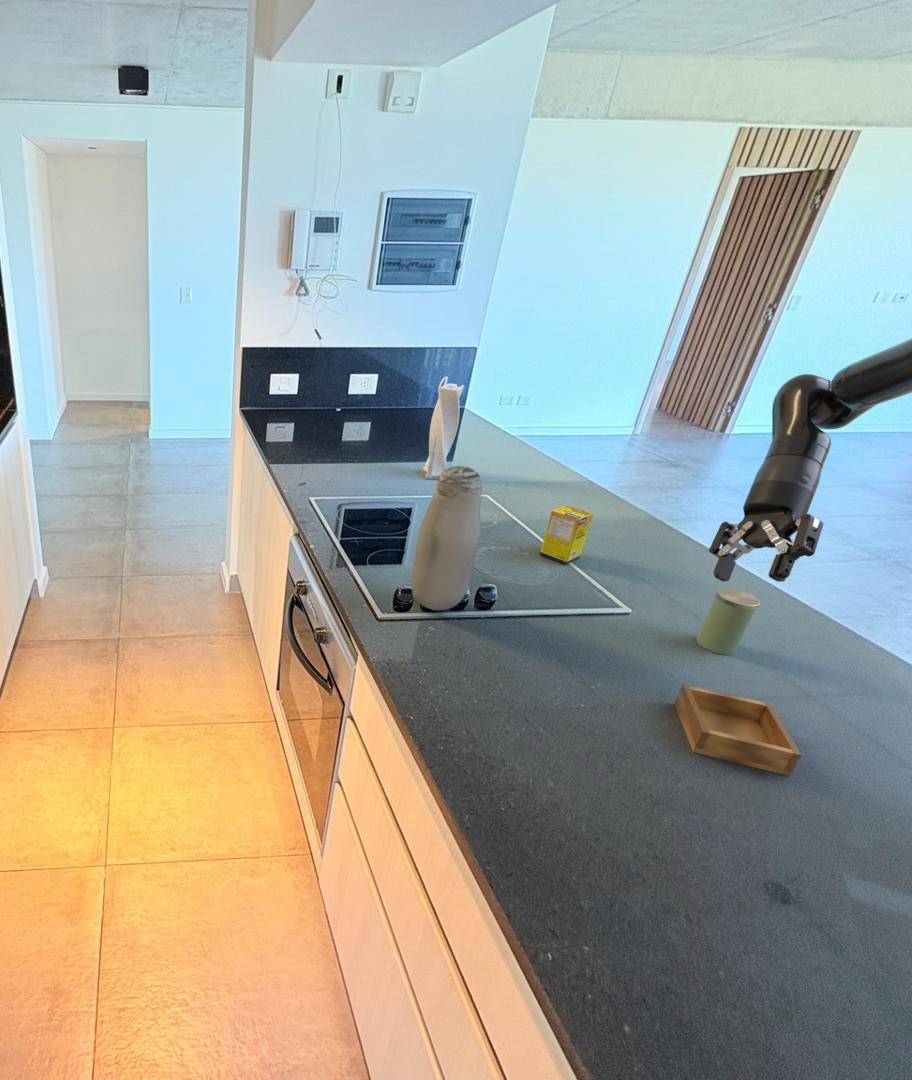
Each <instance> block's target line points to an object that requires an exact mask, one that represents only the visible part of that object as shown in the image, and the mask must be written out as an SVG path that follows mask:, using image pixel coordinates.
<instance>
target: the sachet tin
mask: <svg viewBox="0 0 912 1080" xmlns="http://www.w3.org/2000/svg"><path fill="white" fill-rule="evenodd" d="M760 604H761V600H760V599H758V598H757V597H756V596H755V595H753V594H751V593H749V592H747V591H744V590H740V589H737V588H730V587H721V588H718V589H717V590H716V593H715V597H714V599H713V601H712V603H711V605H710V608H709V610H708V612H707V614H706V616H705V619H704V621H703V623H702V626H701V627H700V630H699V631H698V634H697V636H696V640H695V641H696V642H697V644H698V645H699V646H700V647H701V648H703V649H705V650H708V651H709V652H712V653H715V654H717V655H718V654H719V655H724V656H725V655H726V656H729V655H733V654H735V653H736V651H737V650H738V647H739V645H740V643H741V641H742V639H743V637H744V635H745V633H746V631H747V629H748V627H749V625H750V622H751V620H752V619H753V616H754V615H755V613H756V610H757V609H758V608H759V606H760Z"/></svg>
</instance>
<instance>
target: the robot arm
mask: <svg viewBox="0 0 912 1080" xmlns="http://www.w3.org/2000/svg"><path fill="white" fill-rule="evenodd" d="M909 394H912V338H910V339H907V340H905V341H903V342H900V343H898V344H896V345H894V346H893V345H892V346H891V347H888V348H886V349H883V350H882V351H879V352H876V353H874V354H872V355H870V356H867V357H864V358H862V359H860V360H858V361H855V362H853V363H851V364H848V365H847V366H845V367H843V368H842V369H840V370H839V371H838V372H837V373H835V375H834V376H833V378H832V379H831V380H830V379H827V378H825V377H822V376H819V375H816V374H811V373H803V374H798V375H795V376H793V377H791V378H790V379H788V380H787V381H786V382H784V383H783V384H782V385H781V387H780V388H779V389H778V390H777V391H776V394H775V396H774V399H773V401H772V408H771V442H770V444H769V447H768V450H767V452H766V455H765V457H764V458H763V459H764V460H763V462H762V464H761V466H760V467H759V469H758V470H757V472H756V474H755V476H754V479H753V482H752V484H751V485H750V489H749V492H748V494H747V497H746V499H745V502H744V504H743V507H742V510H743V515H744V516H743V518H742V520H741V521H739V522H738V523H730V522H728V521H723V522H721V523H720V526H719V527H718V530H717V531H716V534H715V536H714V538H713V540H712V543H711V545H710V547H709V548H708V552H709V553H710V554H712V555H714V556H715V557H717V558H718V559H717V562H716V565H715V566H714V570H713V575H714V576H713V577H714V578H716V579H717V580H719V581H721V582H729V581H730V579H731V576H732V574H733V571H734V569H735V566H736V564H737V562H736V561H737V560H738V559H740V558H741V557H742V556H743V555H745V554H746V555H747V554H750V553H751V552H752V551H754V550H755V549H757V550H758V549H763V548H770V549H776V551H777V552H778V554H775V556H774V559H773V561H772V564H771V567H770V569H769V572H768V577H769V578H770V579H772V580H774V581H775V582H778V583H779V582H781V583H782V582H785V581H786V580H787V578H789V577H790V575H791V573H792V569H793V567H794V565H795V563H796V561H798V560H799V559H800V558H802V557H804V556H806V557H812V556H814V555H815V553H816V550H817V546H818V543H819V541H820V537H821V535H822V534H821V533H822V530H823V528H824V522H823V521H822V520H820V519H818V518H817V517H815V516H814V515H812V514H810V513H808V512H809V510H810V507H811V505H812V502H813V500H814V497H815V494H816V492H817V489H818V487H819V484H820V480H821V475H822V474H821V473H822V470H823V468H824V465H825V462H826V460H827V458H828V455H829V452H830V450H831V446H832V438H831V437H830V436H829V435H828V434H827V433H826V432H825V431H823V430H837V429H841V428H844V427H846V426H848V425H849V424H851V423H852V422H853V421H855V420H857V418H859V417H860V416H861V415H863V414H865V413H866V412H868V411H869V410H871V409H872V408H874V407H875V406H877V405H880V404H883V403H886V402H888V401H889V402H890V401H892V400H894V399H895V400H896V399H898V398H900V397H903V396H906V395H909ZM795 533H796V534H795ZM794 534H795V538H794V540H793V538H792V536H793V535H794ZM741 540H742V542H743V543H745V544H741V543H740V542H741ZM721 545H722V546H721ZM734 549H736V550H734ZM733 550H734V551H733ZM732 551H733V552H732Z"/></svg>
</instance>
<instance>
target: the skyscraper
mask: <svg viewBox="0 0 912 1080" xmlns="http://www.w3.org/2000/svg"><path fill="white" fill-rule="evenodd" d="M448 379H449V377H448V375H447V376H444V377H442V380H440V383H439V384H438V389H437V390H438V399H437V401H436V403H435V406H434V409H433V412H432V416H431V421H430V427H429V438H428V457H427V459H426V461H425V464H424V466H423V468H422V469H416V472H417V473H418V474H419V475H420V476H422V477H423V478H424V479H426V481H429V480H438V478H439V476H440V475H441V473H442V472H443V471H445V470H446V469H448V464H447V457H448V455H449V453H450V451H451V449H452V446H453V444H454V441H455V438H456V436H457V432H458V429H459V422H460V414H461V413H460V411H461V409H460V407H461V406H460V404H461V402H460V397H461V396H462V393H463V391H464V390H465V385H464V384H462V385H460V386H458V384H456V383H448ZM443 382H444V385H443ZM442 385H443V386H442Z"/></svg>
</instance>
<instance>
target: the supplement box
mask: <svg viewBox="0 0 912 1080" xmlns="http://www.w3.org/2000/svg"><path fill="white" fill-rule="evenodd" d="M550 513H551V514H550V516H549V520H548V523H547V527H546V529H545V534H544V538H543V541H542V545H541V549H540V552H539V556H542V557H545V558H548V559H549V560H552V561H555V562H558V563H560V564H563V565H565V566H566V565H568V564H570V563H572V562H574V561H576V560H578V559H580V557H581V554H582V552H583V547H584V545H585V542H586V539H587V535H588V532H589V529H590V526H591V523H592V519H593V516H594V513H593V512H590V511H587V510H583V509H580V508H577V507H574V506H571V505H568V504H564V505H562V506H559V507H557V508H555V509H552V510H551V512H550Z"/></svg>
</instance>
